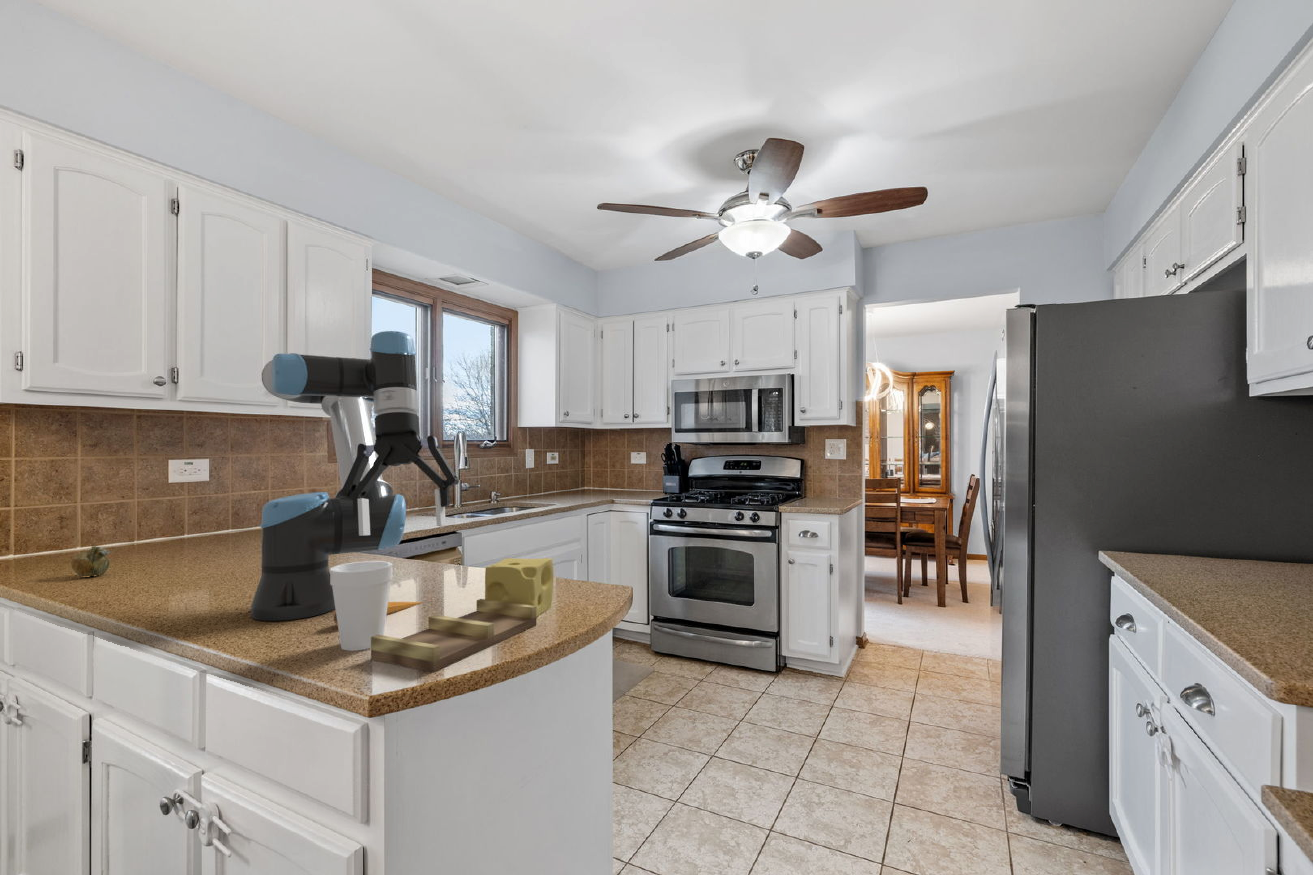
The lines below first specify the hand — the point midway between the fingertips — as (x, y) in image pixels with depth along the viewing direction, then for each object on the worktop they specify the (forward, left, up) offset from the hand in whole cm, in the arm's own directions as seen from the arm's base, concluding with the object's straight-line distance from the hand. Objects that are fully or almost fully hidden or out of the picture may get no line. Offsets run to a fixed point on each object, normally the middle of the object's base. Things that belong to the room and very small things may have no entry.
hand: (403, 530), depth 109 cm
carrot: (-12, +6, -18) cm, 23 cm away
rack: (+13, 0, -18) cm, 22 cm away
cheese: (+11, +19, -18) cm, 28 cm away
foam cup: (-1, -8, -18) cm, 20 cm away
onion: (-111, +1, -18) cm, 112 cm away
